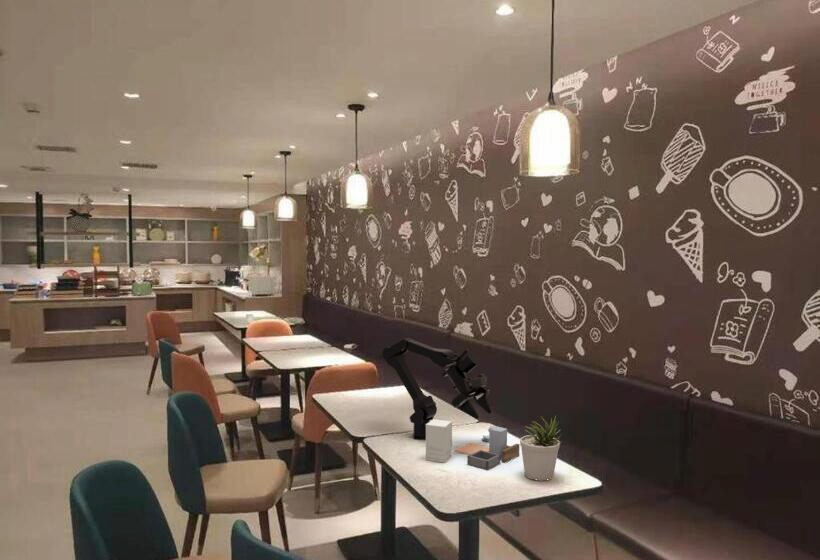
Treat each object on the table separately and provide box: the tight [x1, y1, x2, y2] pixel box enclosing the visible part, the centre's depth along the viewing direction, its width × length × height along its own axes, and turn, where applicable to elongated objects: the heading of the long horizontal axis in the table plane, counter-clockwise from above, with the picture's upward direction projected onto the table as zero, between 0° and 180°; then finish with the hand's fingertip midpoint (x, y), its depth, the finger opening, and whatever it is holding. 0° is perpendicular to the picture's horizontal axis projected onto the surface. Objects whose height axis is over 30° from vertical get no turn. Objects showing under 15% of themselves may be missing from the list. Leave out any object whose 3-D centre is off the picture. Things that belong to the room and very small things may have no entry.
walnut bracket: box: [501, 443, 521, 464], centre depth 208 cm, size 9×10×4 cm
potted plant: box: [519, 415, 563, 481], centre depth 188 cm, size 13×14×20 cm
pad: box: [454, 442, 489, 456], centre depth 213 cm, size 10×10×1 cm
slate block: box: [488, 426, 508, 461], centre depth 207 cm, size 4×4×10 cm
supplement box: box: [425, 418, 453, 464], centre depth 204 cm, size 7×7×13 cm
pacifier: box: [481, 425, 496, 443], centre depth 225 cm, size 7×6×6 cm
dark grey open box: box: [467, 450, 501, 471], centre depth 200 cm, size 8×8×3 cm
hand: (484, 415), depth 211 cm, fingers open, 9 cm apart
